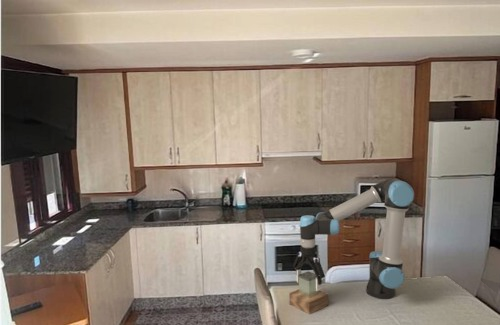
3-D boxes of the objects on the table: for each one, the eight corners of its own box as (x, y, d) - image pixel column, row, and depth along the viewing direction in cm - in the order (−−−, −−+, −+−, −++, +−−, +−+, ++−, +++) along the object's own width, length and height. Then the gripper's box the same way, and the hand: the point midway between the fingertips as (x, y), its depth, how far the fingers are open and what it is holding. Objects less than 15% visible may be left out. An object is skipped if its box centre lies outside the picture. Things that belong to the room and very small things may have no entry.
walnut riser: (328, 305, 193) (328, 294, 192) (309, 314, 184) (309, 302, 184) (308, 296, 204) (308, 285, 203) (289, 304, 195) (289, 293, 195)
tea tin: (318, 294, 193) (318, 275, 192) (308, 298, 188) (308, 279, 187) (308, 289, 198) (308, 271, 197) (298, 293, 194) (298, 274, 193)
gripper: (285, 241, 199) (286, 280, 201) (321, 253, 179) (322, 296, 181) (295, 239, 203) (296, 276, 205) (331, 250, 183) (332, 291, 185)
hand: (308, 285), depth 193 cm, fingers open, 13 cm apart
